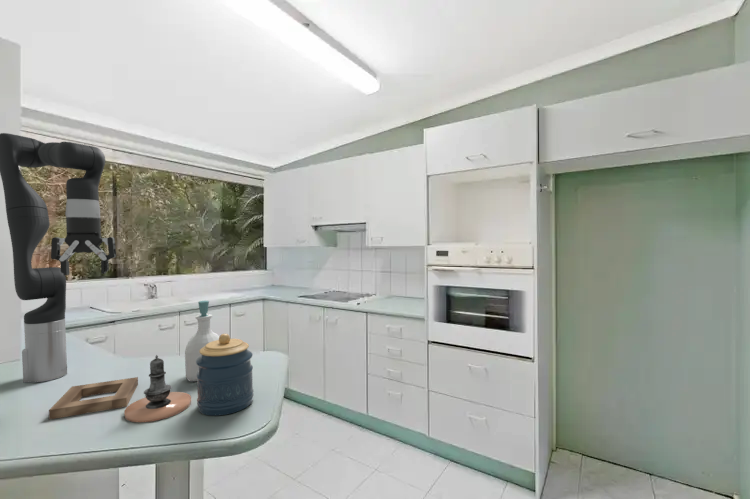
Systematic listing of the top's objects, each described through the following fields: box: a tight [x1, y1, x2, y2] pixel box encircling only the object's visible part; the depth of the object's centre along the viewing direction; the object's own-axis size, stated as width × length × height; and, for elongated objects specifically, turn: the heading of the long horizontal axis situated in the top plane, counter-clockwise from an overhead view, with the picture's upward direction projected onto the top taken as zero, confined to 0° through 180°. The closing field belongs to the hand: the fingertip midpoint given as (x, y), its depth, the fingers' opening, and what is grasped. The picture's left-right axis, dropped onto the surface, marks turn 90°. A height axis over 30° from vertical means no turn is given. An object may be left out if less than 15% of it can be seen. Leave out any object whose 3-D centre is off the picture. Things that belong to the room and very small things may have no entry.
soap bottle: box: [184, 300, 220, 382], centre depth 109 cm, size 10×10×23 cm
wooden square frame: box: [48, 376, 139, 420], centre depth 94 cm, size 15×15×2 cm
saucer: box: [124, 391, 192, 423], centre depth 89 cm, size 14×14×1 cm
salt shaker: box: [143, 354, 173, 409], centre depth 89 cm, size 6×6×12 cm
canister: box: [196, 333, 254, 417], centre depth 90 cm, size 13×13×18 cm
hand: (85, 274), depth 103 cm, fingers open, 8 cm apart
